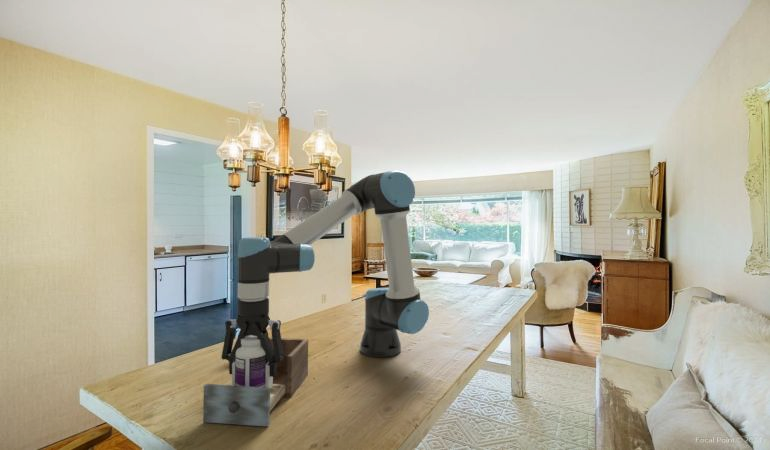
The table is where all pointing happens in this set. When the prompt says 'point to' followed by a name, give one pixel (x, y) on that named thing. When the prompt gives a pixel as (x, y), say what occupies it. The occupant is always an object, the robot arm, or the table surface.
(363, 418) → the table surface
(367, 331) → the robot arm
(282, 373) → the wooden drawer box
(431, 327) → the table surface
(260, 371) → the pill bottle
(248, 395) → the grey drawer
